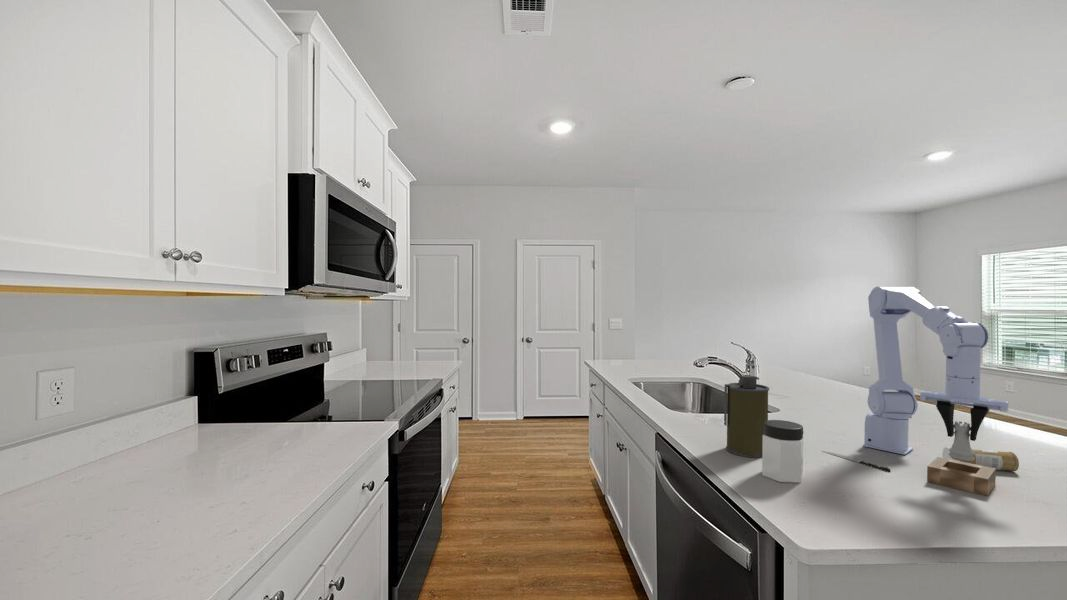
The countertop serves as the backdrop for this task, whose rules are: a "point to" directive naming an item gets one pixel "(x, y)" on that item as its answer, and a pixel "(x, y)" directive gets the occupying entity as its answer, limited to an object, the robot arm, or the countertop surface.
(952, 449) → the rook chess piece
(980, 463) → the sprinkles bottle
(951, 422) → the robot arm
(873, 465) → the chef's knife
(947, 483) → the bore block
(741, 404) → the canister
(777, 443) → the jar
